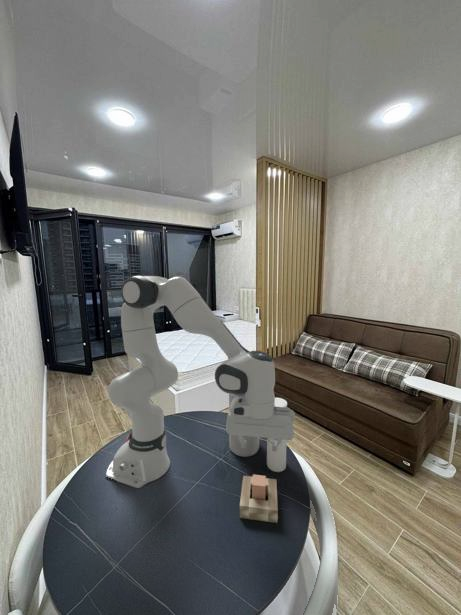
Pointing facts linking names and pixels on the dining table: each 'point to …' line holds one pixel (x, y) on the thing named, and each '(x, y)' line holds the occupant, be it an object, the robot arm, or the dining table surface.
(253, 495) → the peg
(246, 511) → the socket block
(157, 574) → the dining table surface
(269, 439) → the cylindrical container
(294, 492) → the dining table surface
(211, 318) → the robot arm
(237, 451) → the cylinder vase
